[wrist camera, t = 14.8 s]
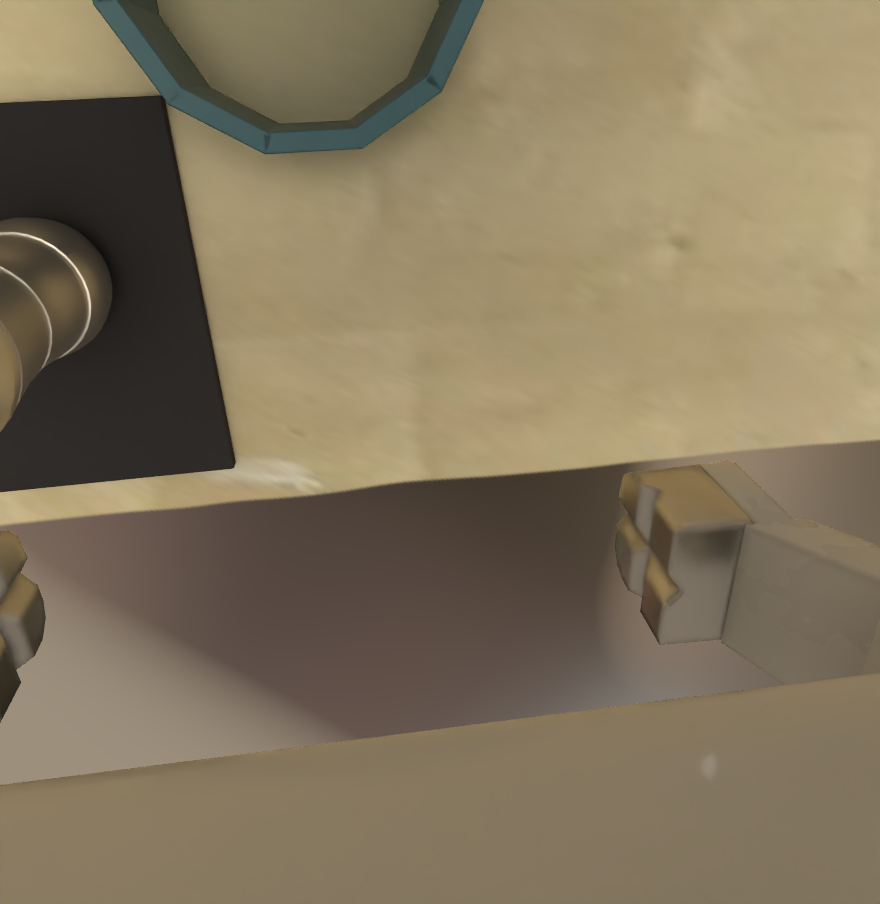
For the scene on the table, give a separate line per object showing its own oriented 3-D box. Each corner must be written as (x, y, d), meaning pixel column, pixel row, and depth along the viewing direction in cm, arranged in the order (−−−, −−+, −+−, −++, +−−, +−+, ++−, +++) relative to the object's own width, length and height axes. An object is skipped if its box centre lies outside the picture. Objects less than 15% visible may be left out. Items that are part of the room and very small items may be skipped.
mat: (-197, 112, 33) (-209, 112, 32) (163, 95, 34) (160, 95, 34) (-44, 490, 42) (-50, 497, 41) (235, 462, 44) (234, 468, 43)
